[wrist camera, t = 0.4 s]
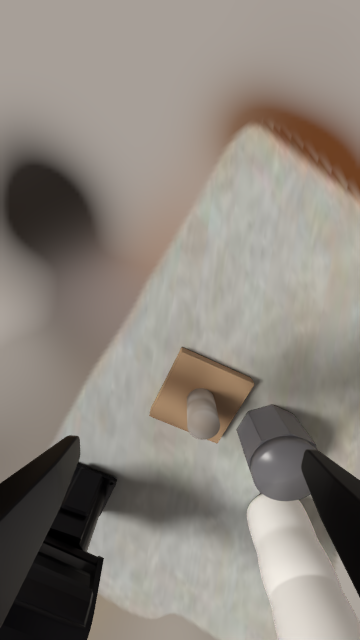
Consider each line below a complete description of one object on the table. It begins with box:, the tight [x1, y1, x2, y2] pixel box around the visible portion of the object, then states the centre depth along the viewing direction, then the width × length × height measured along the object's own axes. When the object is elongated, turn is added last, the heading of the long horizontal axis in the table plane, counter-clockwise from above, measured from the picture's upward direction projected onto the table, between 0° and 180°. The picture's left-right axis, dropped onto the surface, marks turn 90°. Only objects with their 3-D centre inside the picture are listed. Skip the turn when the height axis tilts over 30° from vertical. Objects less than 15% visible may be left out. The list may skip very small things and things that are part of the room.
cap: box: [237, 405, 317, 501], centre depth 21 cm, size 6×6×5 cm
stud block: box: [149, 347, 254, 443], centre depth 20 cm, size 8×8×5 cm
